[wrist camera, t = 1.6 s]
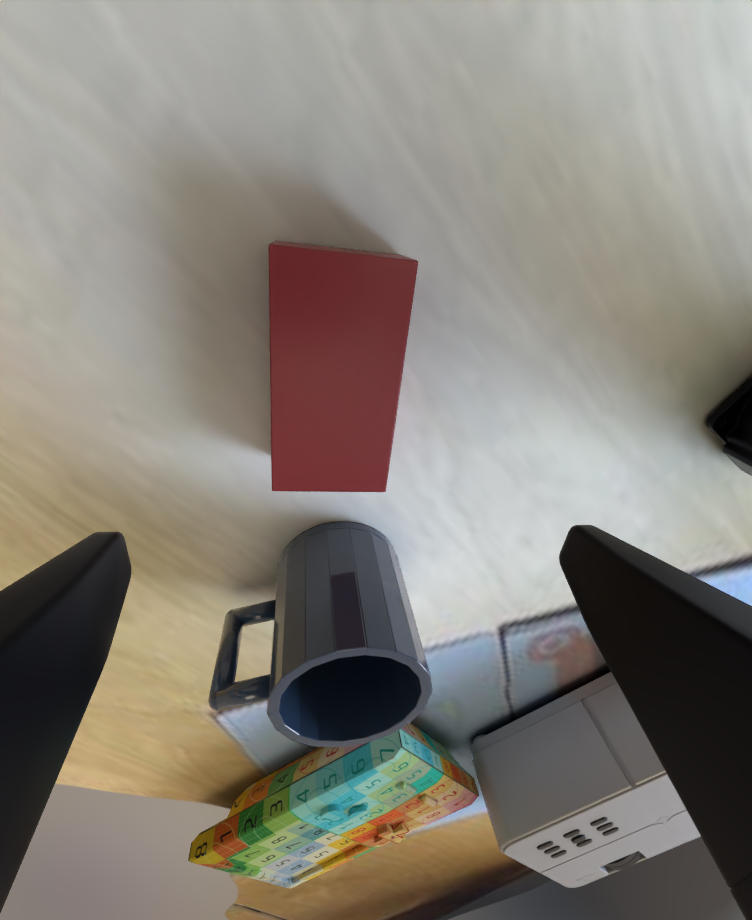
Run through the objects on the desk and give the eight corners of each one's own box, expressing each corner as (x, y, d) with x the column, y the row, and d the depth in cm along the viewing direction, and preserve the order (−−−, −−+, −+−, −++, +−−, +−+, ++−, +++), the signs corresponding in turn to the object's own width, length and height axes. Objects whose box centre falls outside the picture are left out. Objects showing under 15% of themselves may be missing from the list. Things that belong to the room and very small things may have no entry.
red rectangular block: (274, 240, 16) (268, 243, 13) (401, 255, 17) (418, 260, 14) (275, 457, 20) (271, 491, 18) (375, 460, 21) (385, 492, 19)
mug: (388, 508, 23) (423, 630, 16) (403, 596, 27) (437, 726, 20) (209, 547, 22) (167, 690, 16) (249, 631, 26) (229, 777, 19)
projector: (459, 738, 36) (494, 854, 30) (697, 616, 33) (799, 717, 26) (531, 793, 44) (571, 894, 38) (729, 700, 41) (813, 794, 34)
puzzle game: (483, 809, 33) (289, 902, 37) (463, 745, 37) (291, 834, 41) (404, 762, 28) (185, 877, 31) (392, 693, 32) (198, 801, 35)
